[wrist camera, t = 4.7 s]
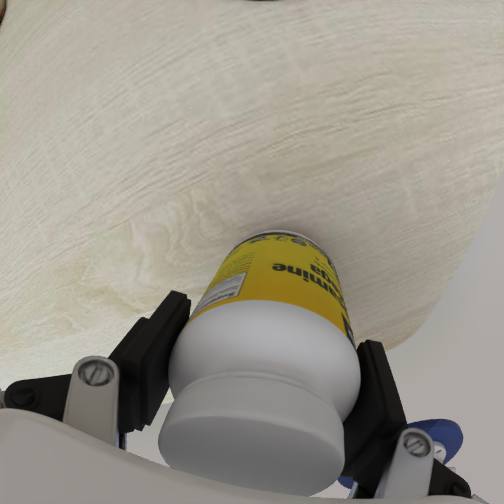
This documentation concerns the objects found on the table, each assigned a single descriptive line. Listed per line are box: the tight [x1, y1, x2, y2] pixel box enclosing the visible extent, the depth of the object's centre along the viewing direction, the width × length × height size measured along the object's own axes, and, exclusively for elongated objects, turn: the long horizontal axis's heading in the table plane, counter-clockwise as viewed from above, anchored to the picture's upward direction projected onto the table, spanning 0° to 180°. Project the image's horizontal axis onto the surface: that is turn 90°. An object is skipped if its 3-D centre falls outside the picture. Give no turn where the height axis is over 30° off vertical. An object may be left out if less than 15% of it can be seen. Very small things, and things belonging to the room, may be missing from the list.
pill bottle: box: [158, 230, 361, 497], centre depth 11 cm, size 6×6×11 cm
